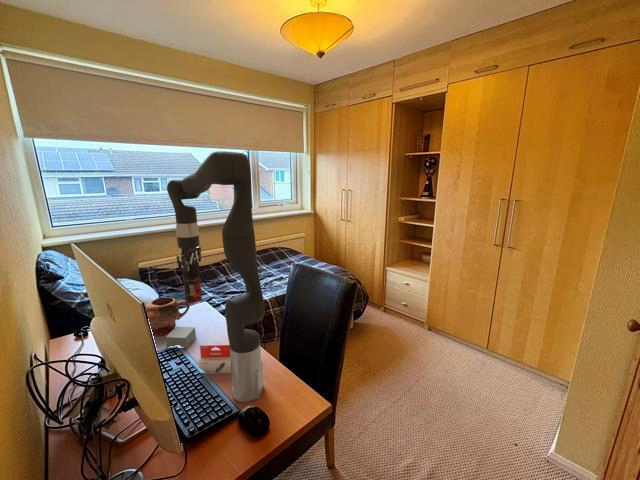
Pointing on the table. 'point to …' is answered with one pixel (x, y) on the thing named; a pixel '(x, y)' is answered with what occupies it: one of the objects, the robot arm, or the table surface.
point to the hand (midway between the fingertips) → (191, 276)
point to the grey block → (181, 337)
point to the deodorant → (193, 284)
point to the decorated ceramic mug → (164, 314)
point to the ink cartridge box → (215, 359)
